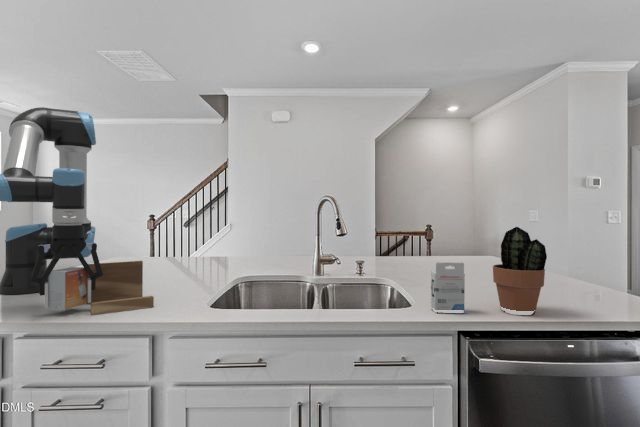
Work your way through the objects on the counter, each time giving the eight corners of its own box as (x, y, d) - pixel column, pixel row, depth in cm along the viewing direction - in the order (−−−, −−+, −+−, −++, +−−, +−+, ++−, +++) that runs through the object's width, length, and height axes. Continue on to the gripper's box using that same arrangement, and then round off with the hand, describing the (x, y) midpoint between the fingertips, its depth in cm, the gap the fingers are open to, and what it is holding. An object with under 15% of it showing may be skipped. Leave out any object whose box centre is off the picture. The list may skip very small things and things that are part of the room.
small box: (64, 310, 105) (64, 271, 105) (47, 309, 106) (47, 270, 106) (88, 303, 113) (88, 267, 112) (71, 302, 114) (71, 266, 113)
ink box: (458, 309, 117) (459, 260, 116) (464, 314, 112) (465, 262, 111) (430, 309, 117) (430, 260, 116) (434, 313, 112) (435, 262, 112)
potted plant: (494, 315, 110) (495, 227, 110) (490, 304, 123) (491, 225, 123) (549, 320, 106) (550, 228, 105) (539, 308, 118) (540, 226, 118)
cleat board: (85, 303, 120) (85, 264, 120) (141, 296, 129) (141, 260, 129) (91, 315, 106) (91, 271, 106) (153, 307, 116) (153, 266, 116)
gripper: (18, 225, 99) (18, 313, 100) (114, 224, 112) (114, 301, 113) (19, 224, 105) (19, 306, 106) (110, 223, 118) (110, 296, 119)
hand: (68, 304), depth 109 cm, fingers closed on small box, 9 cm apart
